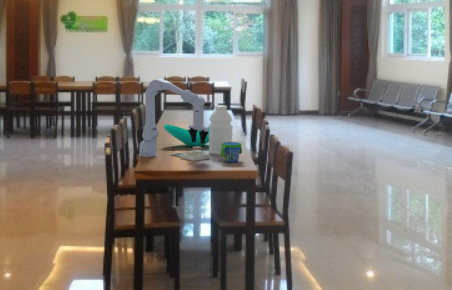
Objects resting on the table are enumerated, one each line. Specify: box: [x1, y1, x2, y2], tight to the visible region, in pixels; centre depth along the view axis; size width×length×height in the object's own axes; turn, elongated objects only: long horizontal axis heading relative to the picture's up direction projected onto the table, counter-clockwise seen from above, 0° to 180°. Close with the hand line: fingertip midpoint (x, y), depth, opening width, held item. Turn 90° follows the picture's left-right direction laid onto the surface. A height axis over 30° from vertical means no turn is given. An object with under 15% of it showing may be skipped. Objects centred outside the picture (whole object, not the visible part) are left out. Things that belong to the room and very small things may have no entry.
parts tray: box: [170, 151, 208, 158], centre depth 374 cm, size 18×10×1 cm, turn 132°
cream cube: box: [186, 150, 197, 156], centre depth 361 cm, size 4×4×4 cm
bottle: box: [208, 104, 234, 155], centre depth 382 cm, size 14×14×28 cm
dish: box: [180, 152, 210, 162], centre depth 362 cm, size 11×11×3 cm
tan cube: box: [191, 146, 203, 151], centre depth 378 cm, size 4×4×4 cm
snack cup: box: [219, 141, 243, 164], centre depth 356 cm, size 16×10×10 cm
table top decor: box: [163, 124, 209, 148], centre depth 410 cm, size 40×28×13 cm
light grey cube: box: [195, 150, 204, 156], centre depth 364 cm, size 4×4×4 cm
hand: (198, 142), depth 363 cm, fingers open, 7 cm apart
